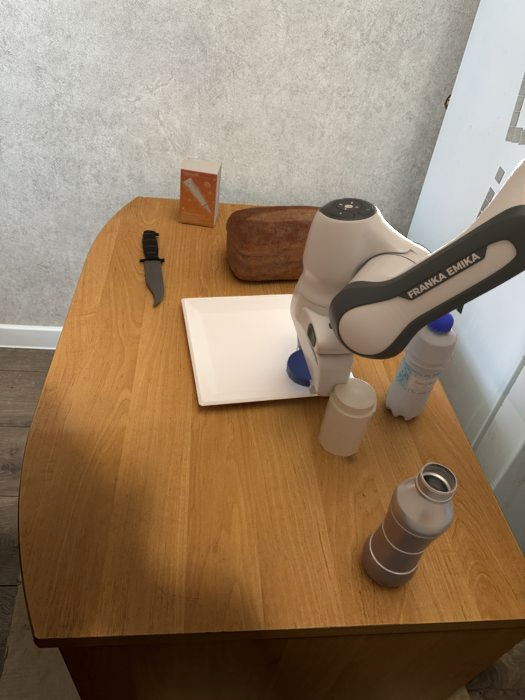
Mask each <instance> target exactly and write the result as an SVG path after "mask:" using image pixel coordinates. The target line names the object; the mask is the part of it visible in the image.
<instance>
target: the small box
mask: <svg viewBox="0 0 525 700" xmlns="http://www.w3.org/2000/svg"><path fill="white" fill-rule="evenodd" d="M222 165H223V163H222V162H220V161H215V160H208V159H203V158H194V157H188V156H185V159H184V161H183V163H182V165H181V167H180V176H179V179H180V180H179V181H180V182H179V221H178V222H179V224H181V223H183V224H188V225H195V226H201V227H208V228H212V229H213V228H215V225H216V222H217V218H218V215H219V208H220V207H219V205H220V193H221V180H222V179H221V178H222V168H223V167H222Z"/></svg>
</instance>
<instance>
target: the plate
mask: <svg viewBox="0 0 525 700" xmlns="http://www.w3.org/2000/svg"><path fill="white" fill-rule="evenodd" d="M292 296H293V293H283V294H260V295H259V294H258V295H257V294H256V295H234V296H233V295H231V296H206V297H184V298H182V299H181V300H180V302H181V306H182V313H183V318H184V324H185V330H186V336H187V343H188V348H189V353H190V360H191V365H192V371H193V376H194V383H195V388H196V394H197V400H198V405H200V406H202V407H205V406H217V405H229V404H241V403H242V404H243V403H252V402H263V401H275V400H286V399H297V398H309V397H319V396H318V395H317V394H310V392H309V388H308V387H304V386H301V385H298V384H296V383H295V382H293V381H292V380H291V379H290V378H289V376H288V374H287V372H286V368H287V361H288V358H289V356H290V355H291V354H292V353H294V352H295V351H296V348H297V332H296V329H295V326H294V323H293V320H292V317H291V314H290V304H291V300H292ZM349 378H355V376H354V374H353V372H352V371H351V373H350V376H349Z"/></svg>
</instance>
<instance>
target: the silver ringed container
mask: <svg viewBox="0 0 525 700" xmlns="http://www.w3.org/2000/svg"><path fill="white" fill-rule="evenodd" d="M457 487H458V479H457V477H456V475H455V473H454V472H453V471H452V469H450V468H449V467H448V466H446V465H444V464H443V463H439V462H428V463H426V464H424V465H423V466H422V467H421V468H420V470H419V472H418V473H417V474H416V476H414V477H413V476H412V477H409V478H406V479H404V480H403V481H401V482H399V484H397V485H396V486H395V488H394V489H393V491H392V494H391V497H390V500H389V504H388V507H387V511H386V514H385V515H384V518H383V520H382V522H381V524H379V526H378V527H377V529H375V530H374V531H373V532H372V533H371V534H370V535H369V536H368V537H367V538H366V539H365V541H364V543H363V546H362V550H361V563H362V566H363V568H364V570H365V573H367V575H368V577H370V578H371V579H372V580H373V581H374V582H375V583H377V584H379V585H381V586H384V587H387V588H398V587H401V586H403V585H405V584H407V583H408V582H409V581H411V580H412V579H413V578H414V577H415V574H416V572H417V571H418V567H419V563H420V560H421V558H422V557H423V555H424V552H426V550H427V549H428V548H429V547H430V546H431V544H432V543H433V542H434V541H436V540H437V539H438V538H439V537H441V536H442V535H443V534H445V533H446V531H448V529H449V528H451V525H452V524H453V521H454V516H455V505H454V502H453V500H452V499H453V497H454V494H455V492H456V490H457Z"/></svg>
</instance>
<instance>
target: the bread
mask: <svg viewBox="0 0 525 700" xmlns="http://www.w3.org/2000/svg"><path fill="white" fill-rule="evenodd" d="M321 207H322V206H314V205H273V206H272V205H271V206H256V207H255V206H254V207H247V208H242V209H238V210H234V211H233V212H232V213H230V214H229V216H228V218H227V220H226V224H225V231H226V248H225V249H226V250H225V254H226V258H227V261H228V264H229V266H230V269H231V270H232V273H233V274H234V275H235V276H236V277H237V278H238V279H239V280H243V281H250V282H262V281H263V282H264V281H273V280H277V281H278V280H299V278H300V276H301V274H302V272H303V254H304V249H305V245H306V241H307V237H308V234H309V230H310V227H311V224H312V221H313V219H314V217H315V215H316V213H317V211H318V210H319V209H320V208H321Z"/></svg>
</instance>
